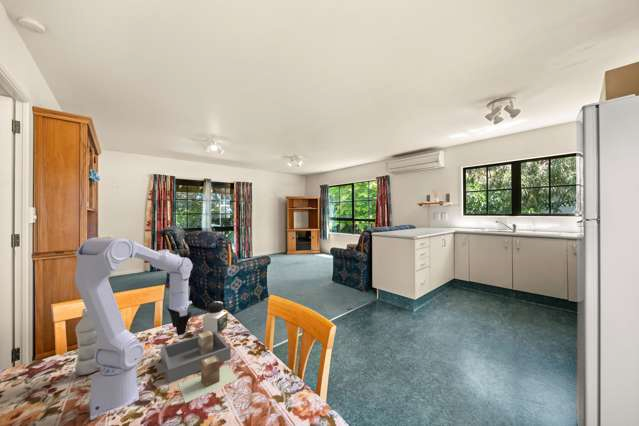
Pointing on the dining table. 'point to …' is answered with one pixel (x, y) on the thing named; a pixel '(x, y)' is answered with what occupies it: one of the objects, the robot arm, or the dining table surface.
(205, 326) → the medicine bottle
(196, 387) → the board
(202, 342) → the birch block
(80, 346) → the plastic bottle
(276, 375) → the dining table surface
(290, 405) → the dining table surface
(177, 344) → the bin
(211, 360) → the walnut block
